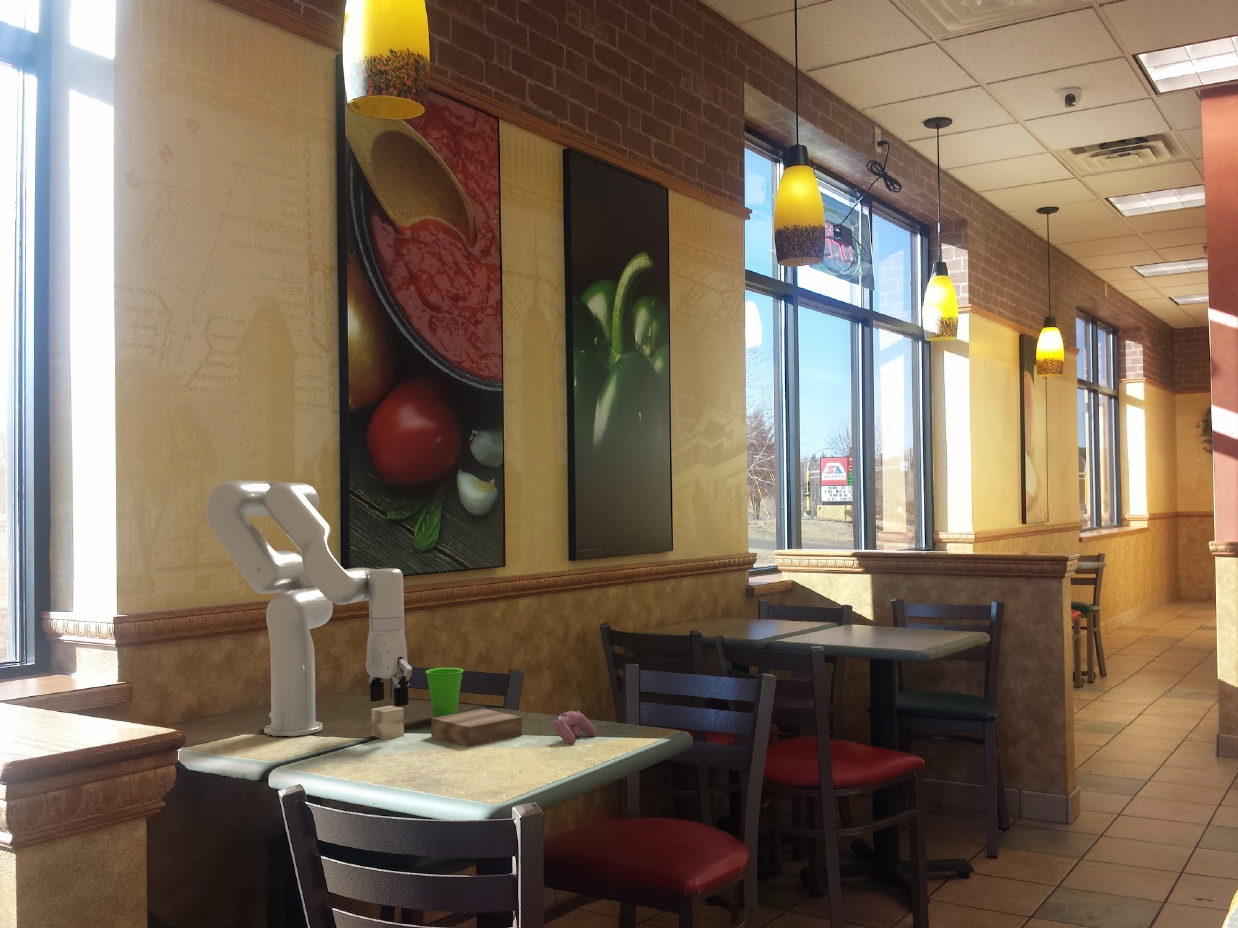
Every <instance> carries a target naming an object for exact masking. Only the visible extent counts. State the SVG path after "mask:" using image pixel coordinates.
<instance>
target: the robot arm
mask: <svg viewBox="0 0 1238 928" xmlns="http://www.w3.org/2000/svg"><path fill="white" fill-rule="evenodd" d="M319 508H320V497H319V493H318V492H317V491H316V490H315V489H314V487H312V486H311V485H309V484H308V483H305V482H286V481H285V482H283V481H272V480H271V481H269V480H254V479H253V480H251V479H250V480H244V479H243V480H241V479H238V480H228V481H224V482H222V483H219V484H218V485H217V486H215V487H214V488H213V489H212V490H211V492H210V493H209V495H208V497H207V501H206V509H205V510H206V513H205V514H206V520H207V524H208V526H209V528H210V531H212V533H213V535H214V536H215V537H216V538H217V540H218V542H219V543H220V544H221V546H223V549H224V550H225V551H226V552H227V554H228V555H229V556H230V558H231V560H232V561H233V563H234V565H235V566H236V568H237V570H239V572H240V573H241V575H242V576H243V578H244V579H245V580H246V582H247V583H248V584H249V586H250V588H251V589H252V590H253V591H255V592H256V593H257V594H260V595H261V594H262V595H271V594H276V595H275V596H274V597H272V598H271V600H270V601H269V602H268V605H267V608H266V611H265V619H266V625H267V631H268V637H269V644H270V645H269V646H270V647H269V649H270V650H269V651H270V697H271V698H270V704H271V705H270V707H271V708H270V709H271V710H270V712H269V713H268V716H269V718H270V719H271V723H270V724H269V725H266V726H265V727H264V728H263V733H264V734H265V733H266V734H267V735H266V734H265V735H266V736H269V735H272V736H271V737H277V736H289V737H298V736H300V735H301V736H306V735H311V734H315V733H318V732H320V731H322V729H323V723H322V722H321V721H316V666H315V664H316V660H315V657H316V655H315V645H314V644H315V643H314V641H313V637H312V635H311V631H310V630H311V629H315V628H320V627H322V626H324V625H325V624H326V623H328V622H329V620H331V618H332V615H333V611H334V605H333V604H336V605H340V606H343V605H348V604H349V605H350V604H354V603H359V602H363V601H368V612H369V613H368V614H369V618H368V620H369V623H368V624H369V631H368V636H367V645H366V661H365V663H364V665H365V668H366V675H367V677H368V683H369V694H370V695H369V699H370V702H373V703H374V702H379V701H383V700H384V699H385V687H384V685H385V683H384V681H382V680H384V679H385V680H390V679H392V681H393V684H394V686H395V687H393V704H394V705H393V706H395V707H402V706H408V704H409V686H410V682H411V680H412V679H411V678H412V677H411V676H412V674H413V667H412V666H411V665H410V664H409V663H408V652H407V651H408V649H407V641H406V637H405V636H406V635H405V606H404V605H405V603H404V602H405V600H404V597H405V596H404V575H403V572H402V570H400V569H399V568H395V567H393V568H390V567H388V568H368V567H353V568H347V569H344V567H342V565H341V564H340V563H339V562H338V561H337V559H336V558H335V557H334V556H333V555H332V553H331V551H330V550H329V546H328V539H329V538H330V536H331V533H332V527H331V526H330V524H329V523H328V522H327V521H326V520H325V518H324V517H323V516H322V515H321V514H320V512H318V510H319ZM249 517H250V518H253V517H254V518H255V517H267V518H268V517H269V518H270V517H271V518H272V519H273V521H274V522H275V523H276V525H278V527H279V528H280V529H281V530H282V531H283V532H284V534H285V535H286V536H287V538H289V540H290V541H291V542H292V544H293V545H294V546H295V547H296V548H297V549H298V550H299V553H300V555H299V553H296V552H294V551H292V550H291V551H290V550H275V549H274V548H273V547H272V546H271V545H270V543H269V542H268V541H267V540H266V538H265V536H264V535H263V534H262V532H261V531H260V530H259V529H258V528H257V527H256V526H255V525H254V524H252V523H251V522H250V521H249V520H248V518H249ZM301 736H300V737H301Z"/></svg>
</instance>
